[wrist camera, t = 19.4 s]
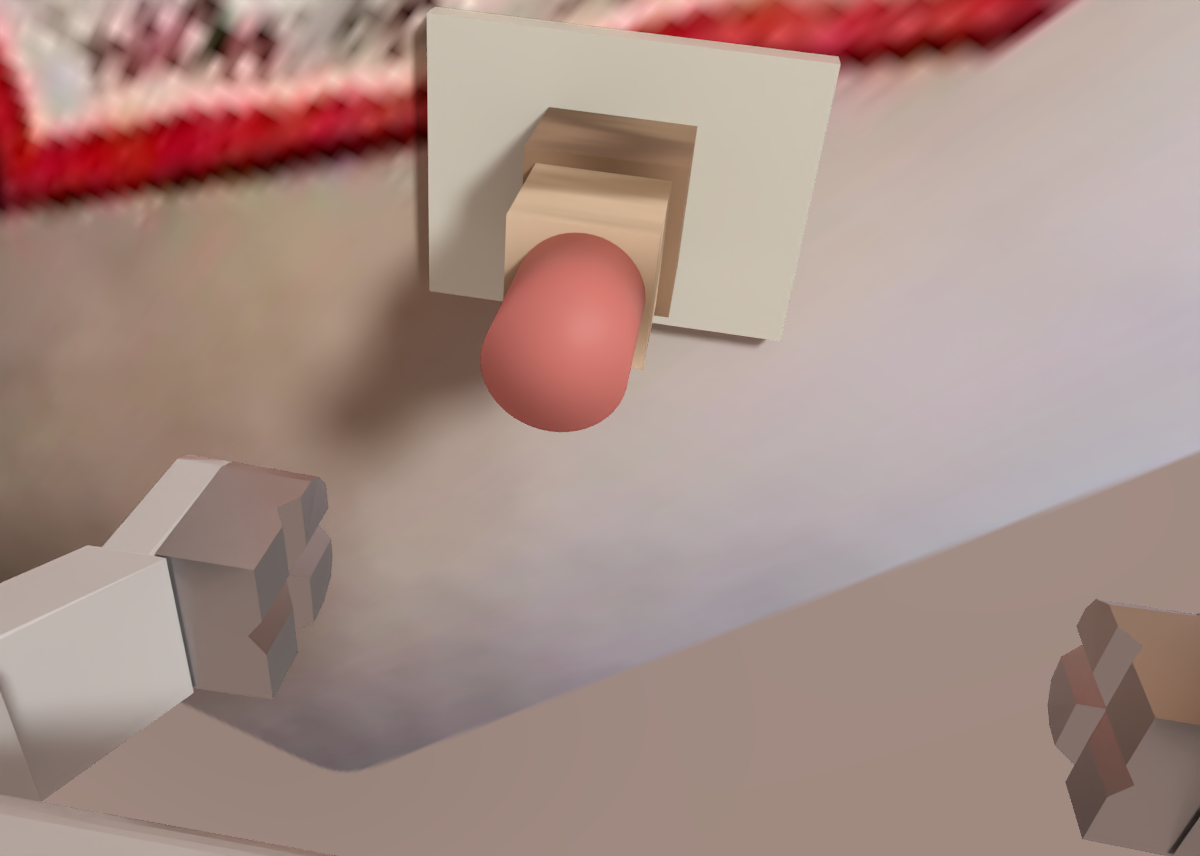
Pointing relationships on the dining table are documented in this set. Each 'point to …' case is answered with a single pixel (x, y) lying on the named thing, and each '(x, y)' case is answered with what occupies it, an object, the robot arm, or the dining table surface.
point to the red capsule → (565, 334)
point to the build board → (637, 90)
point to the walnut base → (623, 164)
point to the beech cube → (593, 223)
